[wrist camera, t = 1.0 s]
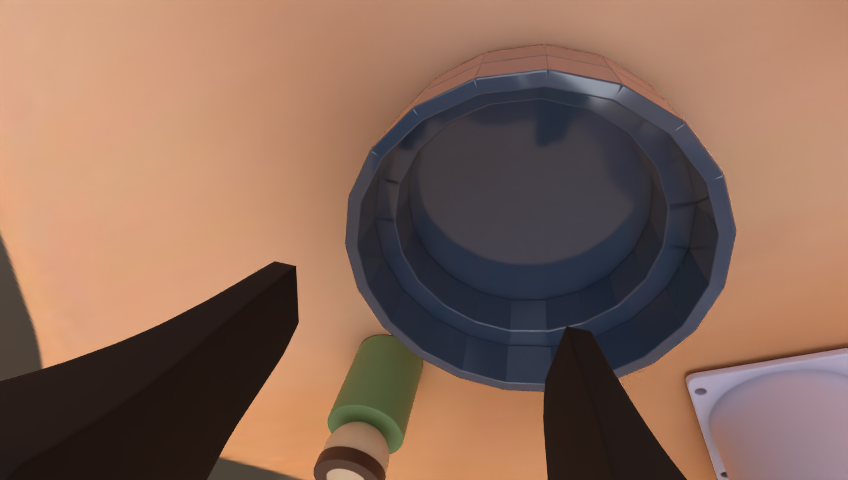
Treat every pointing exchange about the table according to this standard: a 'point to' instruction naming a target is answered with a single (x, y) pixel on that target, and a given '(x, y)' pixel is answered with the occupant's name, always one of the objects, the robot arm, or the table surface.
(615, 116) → the bowl
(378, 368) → the peg doll
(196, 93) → the table surface
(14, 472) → the robot arm
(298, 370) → the table surface
